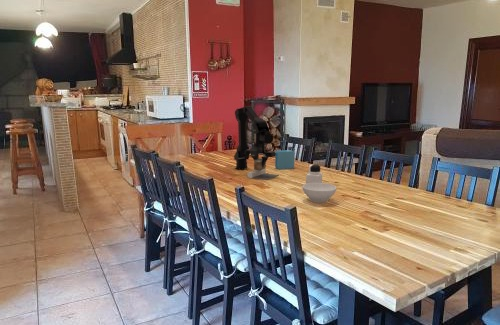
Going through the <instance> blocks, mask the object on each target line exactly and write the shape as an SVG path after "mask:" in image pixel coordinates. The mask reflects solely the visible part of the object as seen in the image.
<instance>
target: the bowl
mask: <svg viewBox="0 0 500 325" xmlns="http://www.w3.org/2000/svg"><path fill="white" fill-rule="evenodd" d="M301 186H302V187H301V188H302V191H303V193H304V194H305V196H307V197H308V199H309V200H310V201H311V202H312V203H315V204H325V203H327V202H328V200H330V199H331V198H332V197H333V196H334V195H335V193H336V192H337V186H336V185H334V184H331V183H327V182H322V183H307V184H306V183H304V184H302V185H301Z"/></svg>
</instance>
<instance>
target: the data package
mask: <svg viewBox="0 0 500 325" xmlns="http://www.w3.org/2000/svg"><path fill="white" fill-rule="evenodd" d="M275 153H276V156H274V157H275V159H274V160H275V161H274V162H275V163H274V166H275V167H274V168H275V169H277V170H292V169H294V168H295V155H296V154H295V151H294V150H290V149H287V150H276V151H275Z"/></svg>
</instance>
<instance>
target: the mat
mask: <svg viewBox="0 0 500 325" xmlns="http://www.w3.org/2000/svg"><path fill="white" fill-rule="evenodd" d="M278 176H279V174H273V173H272V174H271V173H268V172H266V173H264V174H261V175H258V176H255V177H253V178H252V179H257V180H265V181H268V180H271V179H275V178H276V177H278Z"/></svg>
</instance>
